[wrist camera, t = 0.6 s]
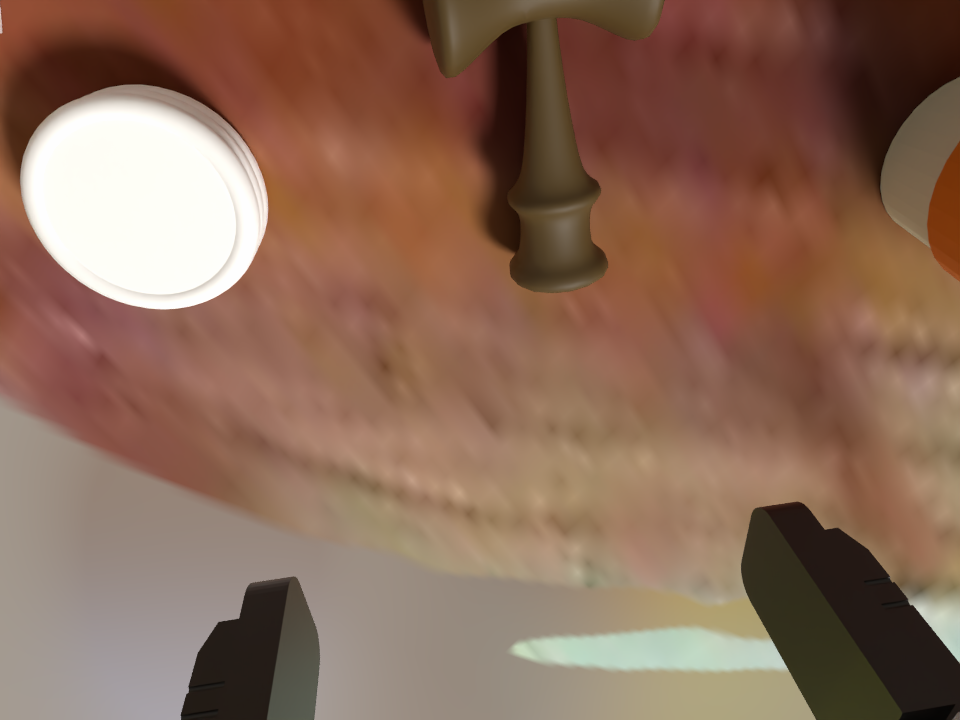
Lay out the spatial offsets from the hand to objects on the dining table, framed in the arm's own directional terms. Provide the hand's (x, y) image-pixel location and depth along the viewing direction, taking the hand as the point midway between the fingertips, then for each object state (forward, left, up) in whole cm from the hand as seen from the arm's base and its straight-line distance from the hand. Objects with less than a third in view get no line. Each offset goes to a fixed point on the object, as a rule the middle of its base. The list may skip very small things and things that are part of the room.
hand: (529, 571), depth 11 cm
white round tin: (+4, -13, -26) cm, 29 cm away
